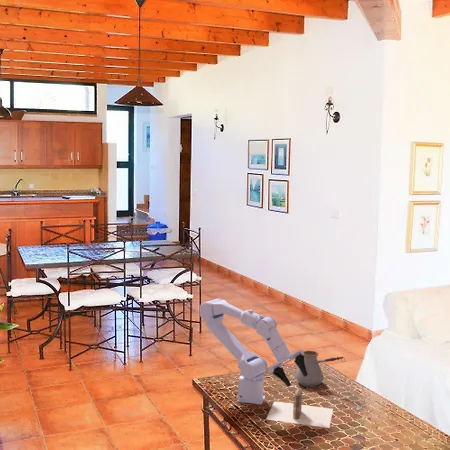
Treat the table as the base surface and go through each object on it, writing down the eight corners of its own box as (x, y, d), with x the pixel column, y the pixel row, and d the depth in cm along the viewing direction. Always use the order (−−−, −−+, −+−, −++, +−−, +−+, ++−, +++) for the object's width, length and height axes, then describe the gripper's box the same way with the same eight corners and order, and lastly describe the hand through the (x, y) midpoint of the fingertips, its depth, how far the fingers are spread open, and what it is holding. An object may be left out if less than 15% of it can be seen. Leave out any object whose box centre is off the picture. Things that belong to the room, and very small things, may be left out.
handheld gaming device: (331, 394, 232) (363, 407, 220) (331, 395, 232) (363, 409, 221) (316, 399, 226) (348, 413, 215) (316, 401, 226) (348, 415, 215)
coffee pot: (289, 383, 243) (290, 348, 241) (305, 375, 251) (306, 341, 250) (334, 398, 229) (336, 361, 227) (350, 390, 237) (351, 353, 235)
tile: (293, 418, 209) (293, 396, 208) (295, 410, 216) (296, 389, 215) (298, 419, 209) (299, 397, 208) (301, 411, 216) (302, 390, 215)
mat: (266, 420, 208) (266, 419, 208) (274, 402, 224) (274, 401, 224) (329, 429, 203) (329, 427, 203) (333, 410, 218) (333, 408, 218)
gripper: (265, 353, 211) (285, 388, 207) (297, 335, 216) (317, 369, 213) (260, 358, 217) (279, 392, 213) (291, 340, 222) (310, 373, 219)
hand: (298, 380), depth 213 cm, fingers open, 7 cm apart
